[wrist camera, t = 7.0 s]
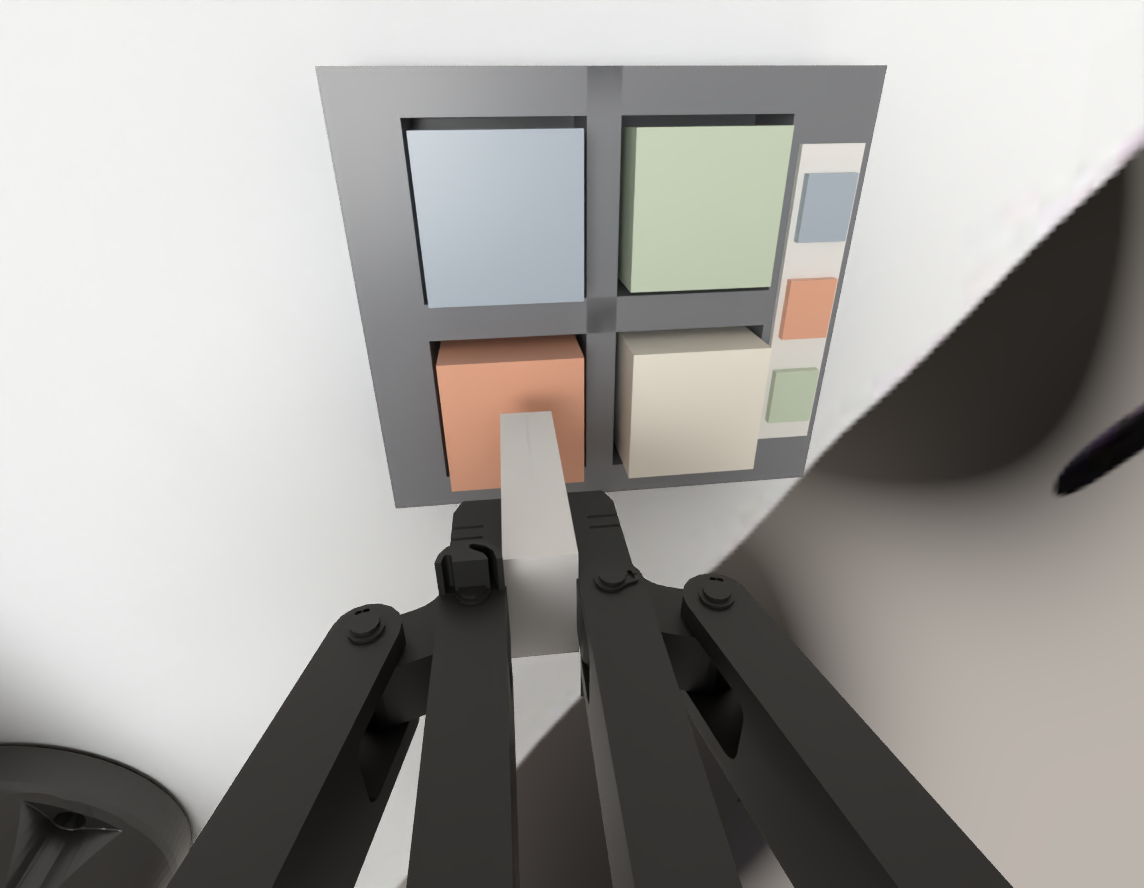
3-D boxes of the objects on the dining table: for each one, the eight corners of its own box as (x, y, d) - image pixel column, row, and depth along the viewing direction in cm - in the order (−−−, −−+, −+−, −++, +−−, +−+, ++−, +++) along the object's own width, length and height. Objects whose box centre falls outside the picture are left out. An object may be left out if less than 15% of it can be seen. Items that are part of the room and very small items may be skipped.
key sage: (736, 267, 22) (770, 286, 19) (613, 271, 21) (630, 292, 19) (753, 125, 20) (794, 125, 17) (616, 126, 19) (637, 127, 17)
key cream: (724, 431, 24) (753, 469, 22) (613, 438, 24) (628, 478, 21) (738, 321, 22) (772, 347, 19) (616, 326, 22) (633, 355, 19)
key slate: (571, 278, 21) (583, 301, 18) (436, 283, 20) (428, 308, 17) (570, 127, 18) (584, 128, 16) (418, 129, 18) (406, 130, 15)
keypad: (767, 436, 27) (808, 483, 24) (406, 461, 25) (394, 516, 22) (826, 73, 20) (897, 63, 17) (343, 75, 19) (310, 64, 15)
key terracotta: (573, 441, 24) (584, 481, 21) (455, 449, 23) (451, 491, 20) (572, 329, 21) (584, 358, 19) (442, 335, 21) (436, 365, 18)
